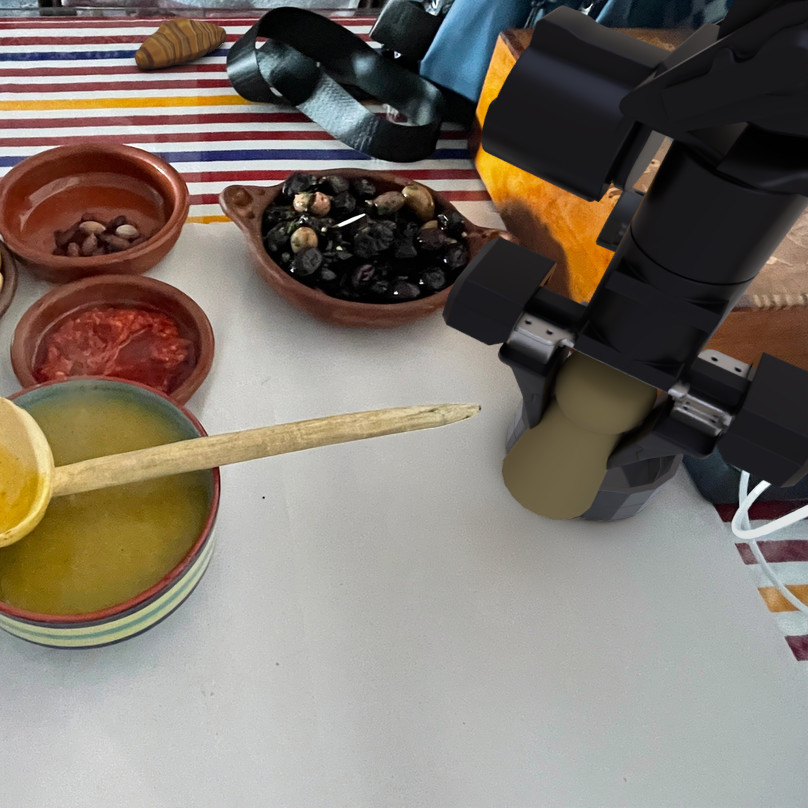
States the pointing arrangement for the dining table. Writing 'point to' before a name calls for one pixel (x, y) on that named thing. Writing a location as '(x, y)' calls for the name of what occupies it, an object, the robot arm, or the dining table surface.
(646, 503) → the dark grey faceted bowl
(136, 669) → the dining table surface
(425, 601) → the dining table surface
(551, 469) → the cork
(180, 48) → the croissant
